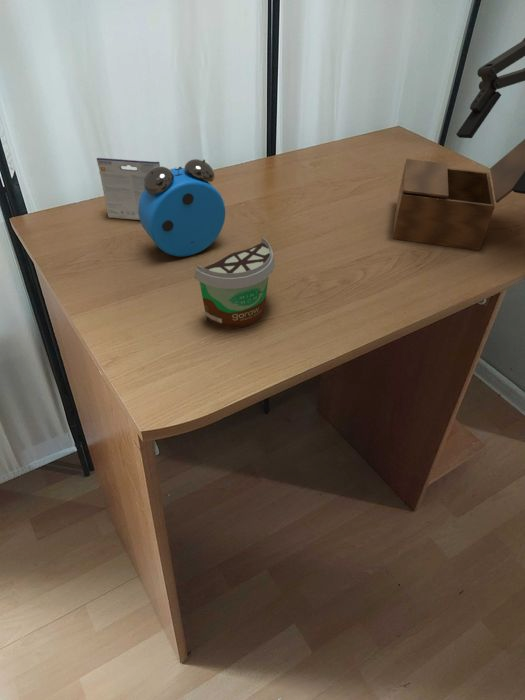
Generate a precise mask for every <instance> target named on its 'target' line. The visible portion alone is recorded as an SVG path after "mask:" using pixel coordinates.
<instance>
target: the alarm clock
mask: <svg viewBox="0 0 525 700" xmlns="http://www.w3.org/2000/svg"><path fill="white" fill-rule="evenodd" d="M214 179H215V171H214V169H213V168H212V166H211V164H209V163H208V162H206V160H205V159H198V158H193V159H190V160H188V161H187V162H186V163H185V165H184V166H183V167H182V166H178V167H174V168H168V167H165V166H160V167H155V168H153V169H151V170H150V171H149V172H148V173H147V174H146V176H145V178H144V188H145V189H144V191H143V193H142V195H141V198H140V201H139V208H138V212H139V218H140V220H139V221H140V224H141V226H142V228H143V230H144V231H145V232H146V234H147V235H148V236H149V238H150V239H151V240H152V241H153V243H154V245H156V246H157V248H158V249H159V250H161V251H163V253H166V254H168V255H170V256H174V257H189V256H194V255H196V254H198V253H201V252H203V251H204V250H206V249H208V247H210V246H211V245H212V244H213V243H214V242H215V241H216V240H217V238H218V237H219V235H220V233H221V231H222V229H223V226H224V224H225V220H226V206H225V201H224V199H223V197H222V194H221V193H220V192H219V191H218V190H217V189H216V188H215V187H214V186H213V185H212V184H211V183H212V182H214Z"/></svg>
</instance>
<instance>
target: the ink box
mask: <svg viewBox="0 0 525 700" xmlns="http://www.w3.org/2000/svg"><path fill="white" fill-rule="evenodd" d="M96 162H97V166H98V170H99V176H100V180H101V186H102V191H103V196H104V202H105V208H106V212H107V217H108V218H110V219H122V220H134V221H140V218H139V212H138V208H139V201H140V198H141V195H142V193H143V191H144V189H145V188H144V178H145V176H146V174H147V173H148V172H149V171H150V170H151V169H153V168H155V167H161V166H160V161H150V160H149V161H148V160H137V159H136V160H134V159H122V158H121V159H119V158H107V157H96ZM128 166H129V167H132V168H136V169H125V168H122V167H128Z"/></svg>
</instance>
